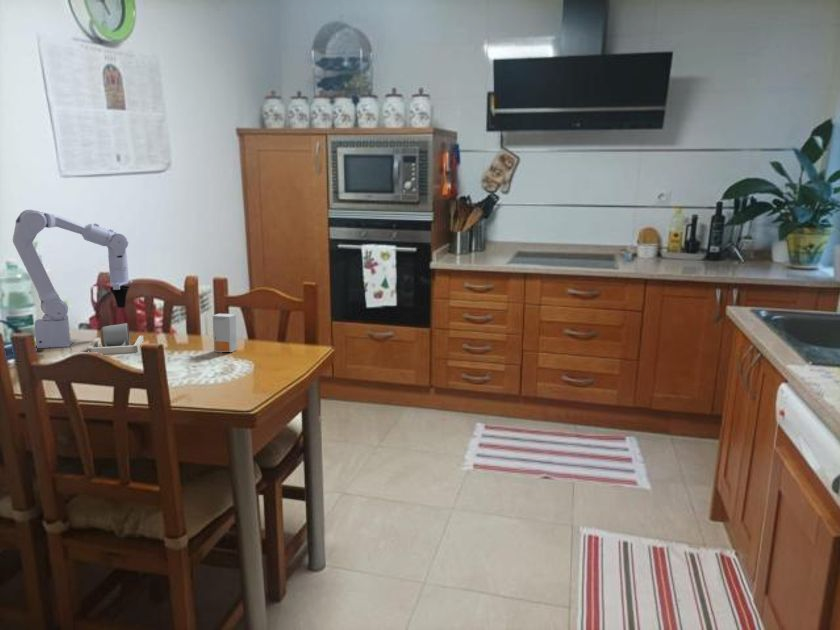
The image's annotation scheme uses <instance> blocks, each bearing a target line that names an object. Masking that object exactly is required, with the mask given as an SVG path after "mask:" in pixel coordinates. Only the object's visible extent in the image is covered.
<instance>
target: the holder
mask: <svg viewBox="0 0 840 630" xmlns="http://www.w3.org/2000/svg"><path fill="white" fill-rule="evenodd" d="M144 341H145V340H144V335H138V338H137V339H136V340H135V343H134V344H132V345H131V344H130V346H112V347H103V346H100V345H102V342H101V337H95V339H94V340H93V341H92V342H91V343H90V344H89V345H88V347H87V348H86V352H87V351H89V352H98V353H102V354H101V355H109V354H110V355H112V354H113V355H114V354H125V353H129V354H130V353H138V352H139V350H140V349H139V347H140V345H141V344H142V345H143V343H144ZM142 342H143V343H142ZM142 345H141V346H142ZM140 348H141V347H140Z"/></svg>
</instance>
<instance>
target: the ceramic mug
mask: <svg viewBox="0 0 840 630" xmlns="http://www.w3.org/2000/svg"><path fill="white" fill-rule="evenodd" d="M100 339H101V347H112V346H130V345H131V338H130V329H129V324H128V323H127V322H126V323H120V324H113V325H112V324H111V325H106V326H102V327H101V328H100Z"/></svg>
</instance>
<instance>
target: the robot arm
mask: <svg viewBox="0 0 840 630" xmlns="http://www.w3.org/2000/svg"><path fill="white" fill-rule="evenodd" d="M45 228H47V229H50V228H60V229H63V230H66V231H69V232H73V233H75V234H78V235H81V236H82V238H83V240H85V241H86V242H89V243H93V244H95V245H99V246H101V247H106V248H107V253H108V255H107V257H108V268H109V280H110V281H109V284H110V285H111V286H112V287H110V292H111V293H112V294H113V297H114V299H115V304H116V305H117V308H123V309H124V308H126V304H127V296H128V293H129V290H130V287H131V286H130V285H128V284H133V280H131V279H129V268H128V255H127V247H128V246H129V241H128V239H127V237H125V235H123V234H122V233H117V232H115V231H114V229H106V228H103V227H101V226H100V225H99V224H98V223H89V224H86V225H83V224H81V223H78V222H75V221H73V220H70V219H69V218H65V217H62V216H60V215H57V214H54V213H47V212H43V211H42V212H41V211H39V210H33V209H25V210H23V211H22V212H20V214H19V215H18V217H17V218H16V220H15V226H14V231H13V235H12V243H13V245H14V248H15V249H16V251H17V254H18V256H19V257H20V260H21V262H22V263H23V266H24V267H25V269H26V272H27V273H28V276H29V278H30V279H31V281H32V284H33V286H34V287H35V290H36V292H37V293H38V294H37V295H38V298H39V300H40V309H41V311H42V313H44V315H43V316H42V318H40V319H36V320H35V322H34V333H35V343H36V344H35V345H37V348H36V349H46V348H48V349H49V347H50V348H65V347H70V346H71V345H72V344H73V343H74V342H75V340H74V339H71V334H70V324H69V316H68V315H67V314H68V312H69V308H68V307H69V306H68V305H67V303H66V302H64V301H63V300H62V298H60V296H59V294H58V291H56V289H55V287H54V286H53V283H52V282H51V279H50V277H49V275H48V273H47V271H46V268H45V267H44V265H43V263H42V261H41V258H40V256H39V255H38V252H37V249H36V248H35V246H34V243H33V242H34V240H35V238H36V237H37V236H38V234H39V233H40V232H41V231H43V230H44V229H45Z"/></svg>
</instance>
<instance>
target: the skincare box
mask: <svg viewBox="0 0 840 630" xmlns="http://www.w3.org/2000/svg"><path fill="white" fill-rule="evenodd" d="M236 318H237V316H236V314H233V313H215V314H214V315H212V329H213V330H212V332H213V336H212V337H213V352H214V353H222V352H232V351H234V350H236V349H237V350H238V344H237V343H238V342H237V341H238V339H237V337H238V336H237V319H236Z"/></svg>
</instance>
